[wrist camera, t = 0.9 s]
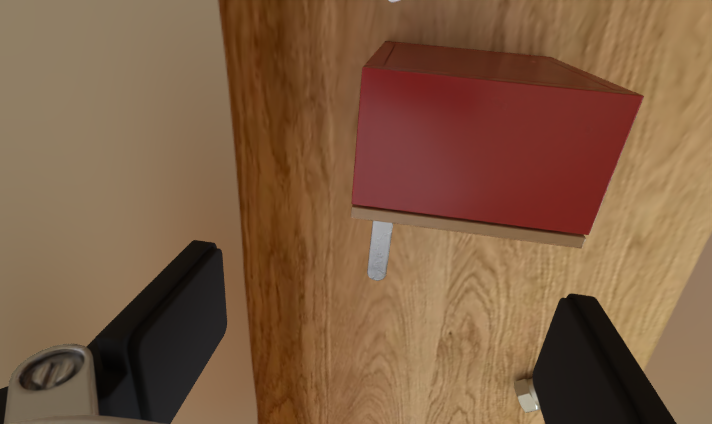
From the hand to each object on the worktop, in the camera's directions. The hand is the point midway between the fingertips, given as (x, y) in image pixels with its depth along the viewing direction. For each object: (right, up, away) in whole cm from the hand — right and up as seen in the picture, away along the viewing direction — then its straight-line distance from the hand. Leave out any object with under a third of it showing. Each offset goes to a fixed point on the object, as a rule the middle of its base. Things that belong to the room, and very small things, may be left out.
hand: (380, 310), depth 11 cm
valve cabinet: (+8, +13, +25) cm, 30 cm away
